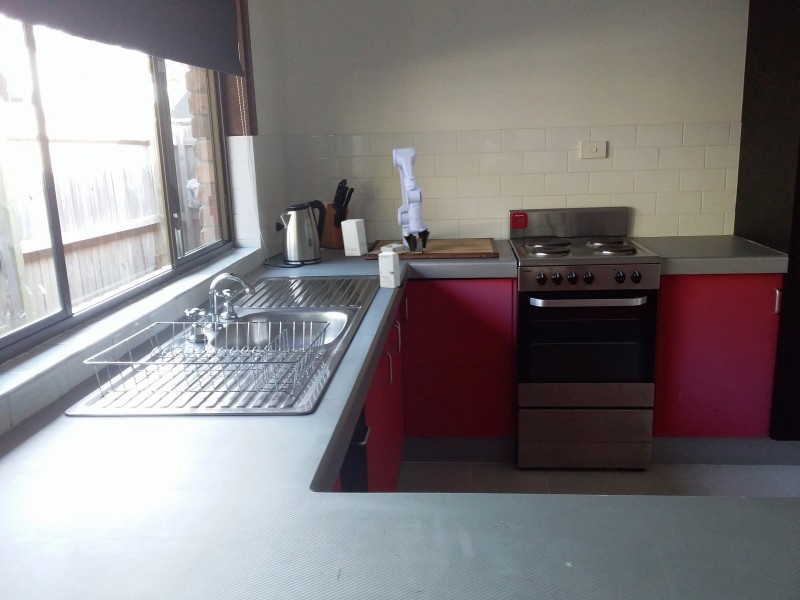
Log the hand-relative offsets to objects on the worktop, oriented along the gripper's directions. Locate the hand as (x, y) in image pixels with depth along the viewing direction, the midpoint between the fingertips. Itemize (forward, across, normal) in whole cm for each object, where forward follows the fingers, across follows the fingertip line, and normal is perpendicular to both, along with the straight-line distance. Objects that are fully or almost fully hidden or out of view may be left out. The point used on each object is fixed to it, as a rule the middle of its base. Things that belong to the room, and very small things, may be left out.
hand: (418, 249), depth 300 cm
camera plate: (+2, -2, +13) cm, 13 cm away
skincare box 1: (+2, -11, +27) cm, 29 cm away
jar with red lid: (+2, 0, 0) cm, 2 cm away
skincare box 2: (+2, -50, -29) cm, 58 cm away
